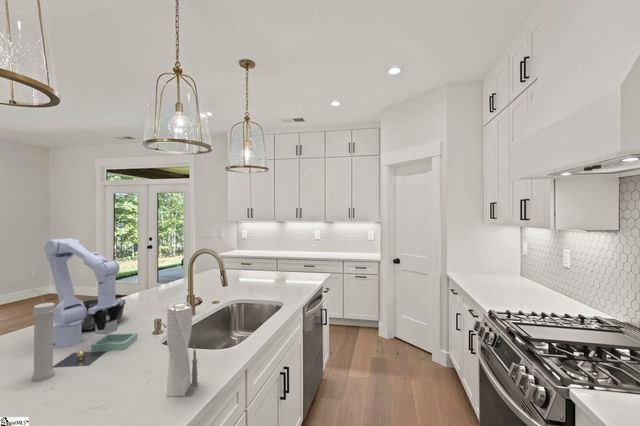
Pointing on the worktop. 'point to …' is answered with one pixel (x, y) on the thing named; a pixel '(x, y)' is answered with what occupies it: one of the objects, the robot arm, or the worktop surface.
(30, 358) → the worktop surface
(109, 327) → the grey block
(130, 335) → the bin
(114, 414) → the worktop surface
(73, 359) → the square lid with knob
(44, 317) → the pipe
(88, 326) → the bundt pan
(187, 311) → the skyscraper
